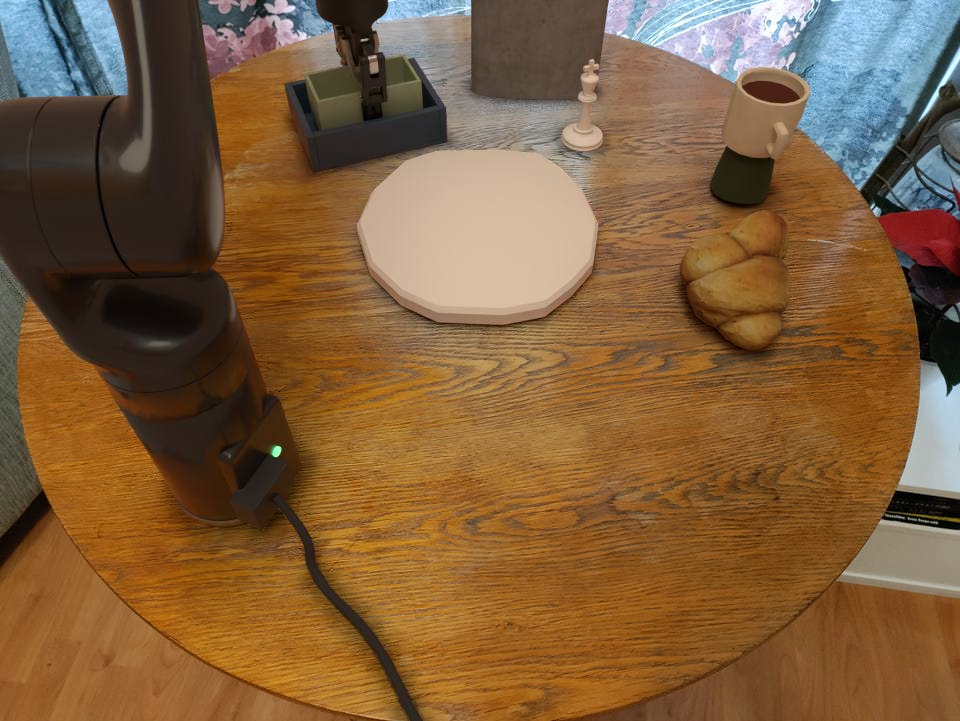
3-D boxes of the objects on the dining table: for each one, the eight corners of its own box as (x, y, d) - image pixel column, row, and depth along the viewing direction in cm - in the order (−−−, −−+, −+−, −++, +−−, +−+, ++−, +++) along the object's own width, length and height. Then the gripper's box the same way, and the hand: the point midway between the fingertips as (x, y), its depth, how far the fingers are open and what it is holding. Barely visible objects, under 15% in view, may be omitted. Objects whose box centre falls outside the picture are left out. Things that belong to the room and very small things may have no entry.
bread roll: (792, 362, 69) (823, 301, 63) (684, 357, 70) (705, 297, 63) (765, 263, 77) (791, 201, 71) (669, 260, 78) (686, 197, 71)
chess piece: (555, 131, 92) (562, 52, 84) (593, 124, 93) (603, 45, 85) (570, 154, 89) (579, 75, 81) (609, 147, 90) (622, 68, 82)
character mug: (785, 222, 81) (830, 115, 71) (720, 226, 81) (756, 119, 71) (752, 160, 88) (789, 54, 78) (692, 163, 88) (721, 57, 78)
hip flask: (595, 84, 98) (618, -84, 83) (597, 101, 96) (621, -68, 80) (471, 81, 98) (471, -87, 83) (470, 99, 96) (469, -71, 80)
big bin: (416, 91, 97) (414, 57, 93) (447, 142, 90) (446, 107, 87) (291, 117, 93) (283, 83, 90) (313, 172, 86) (306, 137, 83)
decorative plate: (364, 133, 84) (589, 133, 84) (368, 164, 87) (585, 164, 88) (340, 298, 68) (616, 297, 69) (346, 328, 72) (609, 328, 72)
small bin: (407, 92, 93) (404, 53, 89) (423, 119, 90) (421, 80, 86) (311, 112, 91) (303, 73, 87) (324, 141, 87) (317, 102, 83)
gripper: (294, -59, 80) (319, 86, 93) (328, 2, 72) (351, 153, 85) (363, -70, 82) (378, 74, 95) (404, -11, 73) (415, 138, 86)
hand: (365, 111), depth 90 cm, fingers closed on small bin, 6 cm apart
